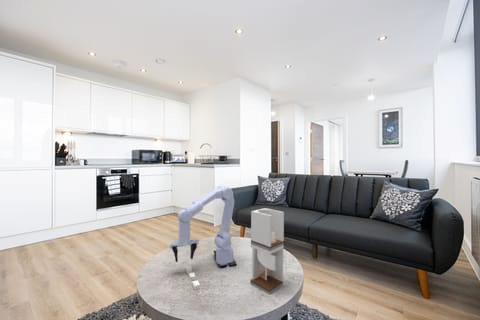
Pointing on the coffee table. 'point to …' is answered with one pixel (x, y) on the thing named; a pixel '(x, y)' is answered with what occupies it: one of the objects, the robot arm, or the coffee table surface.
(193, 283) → the switch
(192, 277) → the switch
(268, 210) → the white wooden shelf tower
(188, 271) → the switch
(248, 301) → the coffee table surface
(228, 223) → the robot arm
